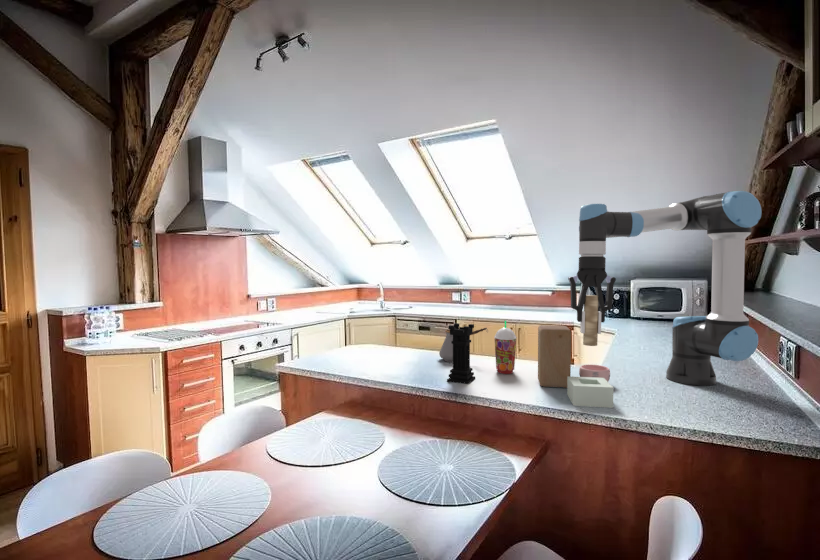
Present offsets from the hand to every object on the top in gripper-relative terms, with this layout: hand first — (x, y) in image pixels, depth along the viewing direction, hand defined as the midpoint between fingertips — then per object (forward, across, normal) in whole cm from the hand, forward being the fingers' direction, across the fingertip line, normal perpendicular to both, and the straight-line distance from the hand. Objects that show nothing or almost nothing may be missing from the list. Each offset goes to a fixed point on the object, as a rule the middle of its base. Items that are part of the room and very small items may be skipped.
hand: (590, 332), depth 136 cm
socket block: (+21, 0, 0) cm, 21 cm away
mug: (+21, -6, -21) cm, 30 cm away
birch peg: (+4, 0, 0) cm, 4 cm away
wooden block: (+21, +8, -18) cm, 29 cm away
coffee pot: (+21, +41, -49) cm, 67 cm away
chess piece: (+22, +40, -18) cm, 49 cm away
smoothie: (+21, +24, -32) cm, 45 cm away
